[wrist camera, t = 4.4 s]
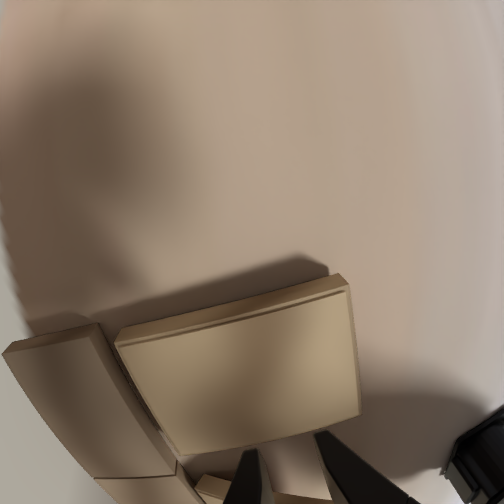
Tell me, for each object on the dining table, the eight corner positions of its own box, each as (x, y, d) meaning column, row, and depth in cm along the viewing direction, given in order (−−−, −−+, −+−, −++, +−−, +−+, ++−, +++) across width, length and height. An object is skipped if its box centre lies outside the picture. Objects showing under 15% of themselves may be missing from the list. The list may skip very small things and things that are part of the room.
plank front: (338, 272, 12) (350, 285, 11) (354, 399, 14) (362, 416, 13) (121, 327, 12) (112, 344, 11) (181, 439, 14) (179, 457, 13)
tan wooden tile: (98, 322, 12) (88, 336, 11) (226, 521, 17) (227, 534, 16) (12, 341, 12) (1, 353, 11) (159, 526, 17) (159, 537, 16)
